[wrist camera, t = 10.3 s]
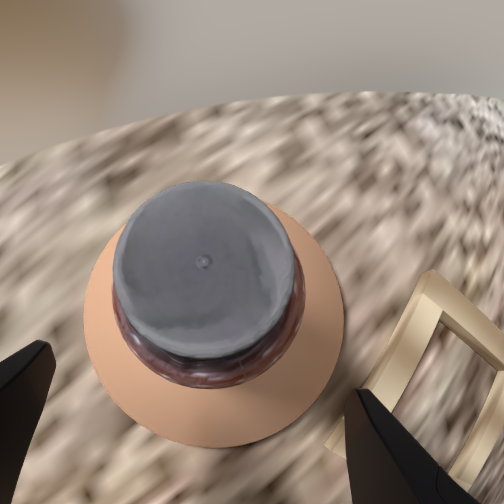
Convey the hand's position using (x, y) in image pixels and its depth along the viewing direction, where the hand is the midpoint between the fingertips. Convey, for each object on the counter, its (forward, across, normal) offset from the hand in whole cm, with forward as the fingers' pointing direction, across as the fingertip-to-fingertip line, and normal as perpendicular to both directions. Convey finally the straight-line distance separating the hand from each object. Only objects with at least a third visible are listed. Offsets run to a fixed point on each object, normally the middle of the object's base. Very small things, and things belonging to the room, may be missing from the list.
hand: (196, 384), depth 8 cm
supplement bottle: (+8, 0, +4) cm, 9 cm away
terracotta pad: (+9, 0, +5) cm, 10 cm away
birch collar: (+6, -16, +8) cm, 19 cm away
